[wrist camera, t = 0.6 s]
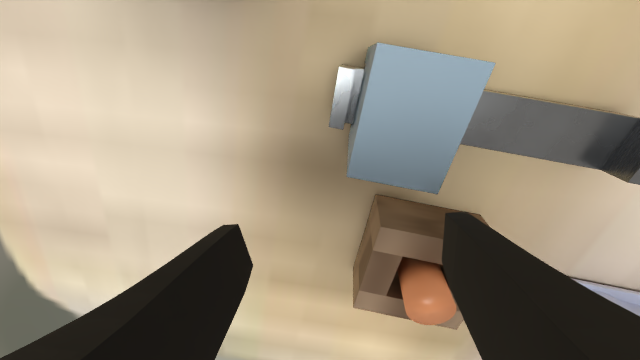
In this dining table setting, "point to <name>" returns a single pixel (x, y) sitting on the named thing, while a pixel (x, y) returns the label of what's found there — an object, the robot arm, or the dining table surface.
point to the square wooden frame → (397, 253)
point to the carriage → (412, 115)
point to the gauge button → (425, 292)
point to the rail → (530, 128)
